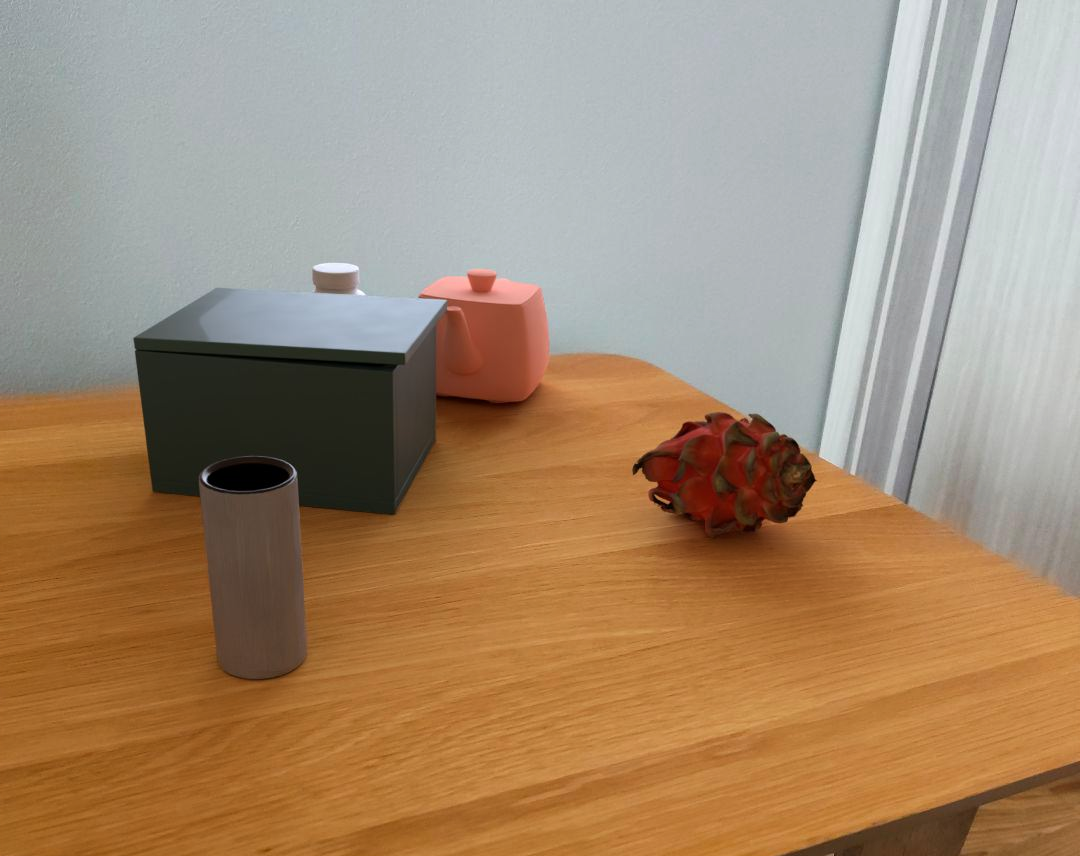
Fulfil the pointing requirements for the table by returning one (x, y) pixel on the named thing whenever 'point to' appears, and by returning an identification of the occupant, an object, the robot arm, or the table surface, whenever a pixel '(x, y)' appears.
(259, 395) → the box
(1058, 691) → the table surface
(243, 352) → the lid
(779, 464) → the dragon fruit
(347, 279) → the pill bottle
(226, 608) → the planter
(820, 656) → the table surface
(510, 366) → the teapot
